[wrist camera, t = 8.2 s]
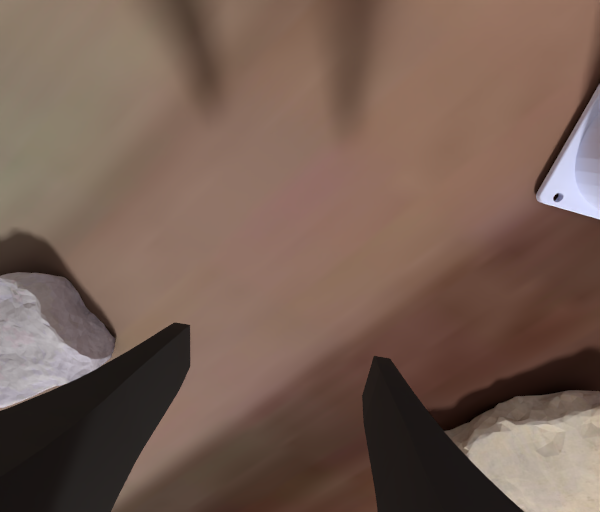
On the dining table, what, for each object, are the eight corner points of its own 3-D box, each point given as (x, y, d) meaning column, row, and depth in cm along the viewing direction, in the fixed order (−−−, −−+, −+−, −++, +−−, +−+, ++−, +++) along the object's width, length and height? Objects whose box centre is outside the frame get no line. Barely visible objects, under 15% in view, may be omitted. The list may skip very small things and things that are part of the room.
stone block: (-27, 290, 26) (28, 388, 27) (-108, 309, 21) (-37, 427, 22) (78, 242, 24) (133, 351, 25) (14, 251, 19) (85, 385, 20)
